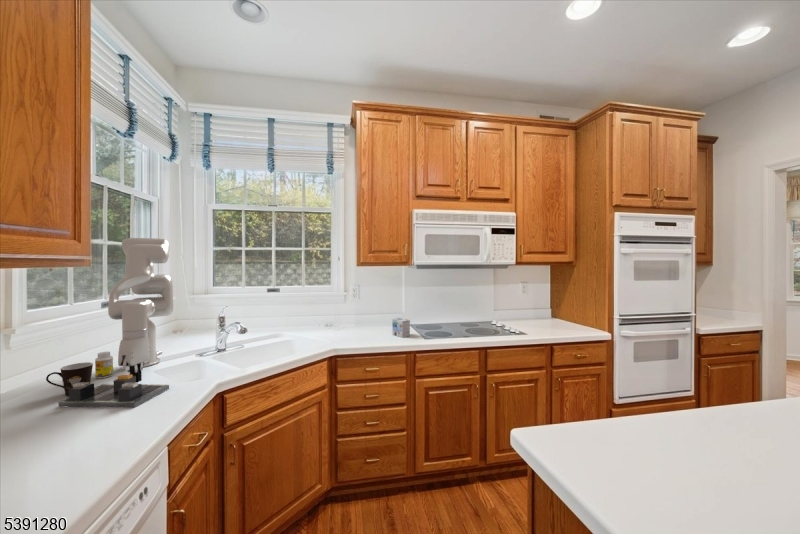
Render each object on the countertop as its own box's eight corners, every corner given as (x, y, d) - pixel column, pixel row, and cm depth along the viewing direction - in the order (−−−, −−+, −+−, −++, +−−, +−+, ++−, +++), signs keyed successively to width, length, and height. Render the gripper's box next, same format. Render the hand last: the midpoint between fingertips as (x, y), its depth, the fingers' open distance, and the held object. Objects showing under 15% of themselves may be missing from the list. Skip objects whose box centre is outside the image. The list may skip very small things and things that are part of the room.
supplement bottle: (93, 377, 137) (92, 353, 137) (109, 373, 142) (109, 350, 142) (98, 379, 135) (98, 355, 135) (115, 375, 140) (115, 352, 139)
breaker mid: (125, 386, 123) (125, 373, 123) (135, 386, 123) (135, 373, 123) (113, 391, 118) (113, 377, 118) (124, 391, 118) (124, 377, 118)
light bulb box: (392, 334, 217) (392, 318, 217) (399, 333, 222) (399, 317, 221) (402, 337, 209) (402, 321, 209) (410, 336, 214) (410, 319, 213)
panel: (102, 388, 126) (102, 371, 126) (169, 388, 125) (169, 371, 125) (58, 406, 110) (58, 387, 110) (134, 407, 109) (134, 387, 109)
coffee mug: (99, 387, 127) (98, 361, 127) (81, 396, 118) (81, 369, 118) (64, 389, 125) (64, 363, 125) (44, 398, 116) (43, 370, 116)
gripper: (141, 330, 133) (141, 374, 133) (107, 338, 118) (108, 389, 118) (159, 330, 133) (159, 374, 133) (128, 338, 118) (129, 389, 118)
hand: (135, 381), depth 126 cm, fingers closed
